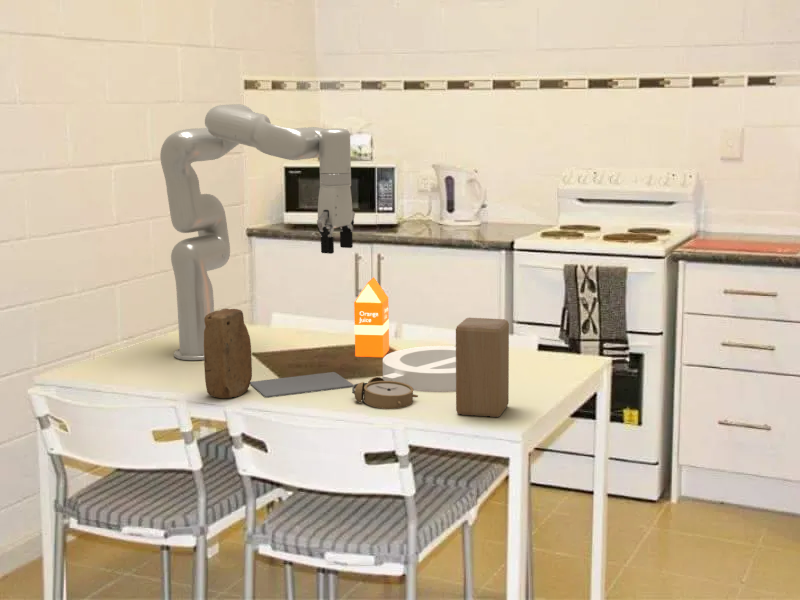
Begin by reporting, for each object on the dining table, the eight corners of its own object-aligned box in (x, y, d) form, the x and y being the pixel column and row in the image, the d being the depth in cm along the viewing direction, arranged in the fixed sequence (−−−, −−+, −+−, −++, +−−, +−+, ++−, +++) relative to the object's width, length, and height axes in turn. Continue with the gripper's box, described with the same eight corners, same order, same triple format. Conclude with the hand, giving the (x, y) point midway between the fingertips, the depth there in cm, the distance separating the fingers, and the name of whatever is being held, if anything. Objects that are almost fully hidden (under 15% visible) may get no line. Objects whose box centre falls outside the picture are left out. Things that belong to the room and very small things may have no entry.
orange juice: (389, 349, 313) (388, 276, 309) (383, 357, 304) (382, 282, 301) (361, 348, 314) (359, 276, 310) (354, 356, 306) (352, 282, 302)
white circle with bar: (381, 393, 271) (381, 374, 270) (384, 364, 298) (383, 346, 298) (501, 392, 271) (501, 372, 270) (492, 363, 298) (492, 345, 297)
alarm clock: (397, 399, 255) (342, 379, 262) (393, 420, 256) (339, 399, 263) (423, 388, 264) (370, 368, 271) (420, 408, 265) (367, 388, 273)
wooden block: (465, 403, 261) (465, 316, 257) (509, 406, 258) (509, 318, 254) (455, 415, 252) (454, 325, 248) (500, 418, 249) (500, 328, 245)
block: (226, 401, 265) (222, 316, 261) (202, 397, 269) (198, 312, 265) (257, 390, 274) (254, 307, 270) (233, 386, 278) (230, 304, 274)
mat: (248, 383, 280) (248, 381, 280) (334, 373, 289) (334, 371, 289) (265, 397, 268) (265, 396, 268) (354, 386, 276) (354, 385, 276)
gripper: (338, 176, 289) (340, 244, 292) (304, 183, 273) (306, 254, 277) (365, 177, 285) (366, 246, 289) (332, 183, 270) (333, 256, 273)
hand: (337, 250), depth 283 cm, fingers open, 9 cm apart
